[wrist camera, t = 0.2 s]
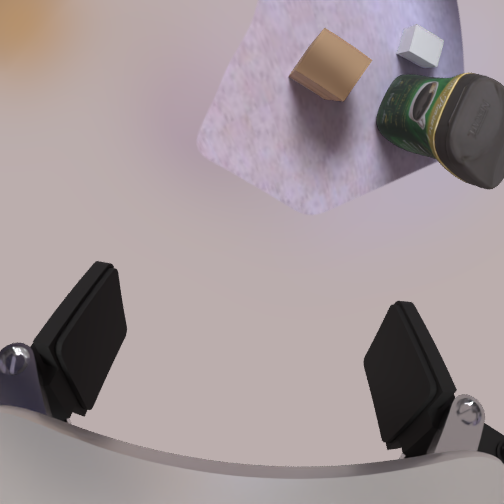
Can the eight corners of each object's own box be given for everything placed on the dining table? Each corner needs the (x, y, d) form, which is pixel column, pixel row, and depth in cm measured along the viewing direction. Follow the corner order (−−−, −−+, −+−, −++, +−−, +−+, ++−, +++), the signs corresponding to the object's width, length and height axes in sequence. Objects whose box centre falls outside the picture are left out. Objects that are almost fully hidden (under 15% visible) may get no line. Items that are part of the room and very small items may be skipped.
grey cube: (403, 29, 26) (416, 24, 22) (429, 43, 26) (444, 40, 23) (396, 53, 28) (409, 50, 24) (422, 68, 28) (437, 67, 24)
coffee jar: (414, 157, 34) (500, 213, 18) (365, 127, 33) (442, 163, 17) (443, 98, 29) (542, 120, 13) (396, 65, 28) (489, 57, 12)
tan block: (310, 44, 28) (324, 27, 20) (345, 68, 29) (372, 60, 21) (288, 76, 31) (295, 69, 22) (324, 99, 32) (343, 101, 23)
